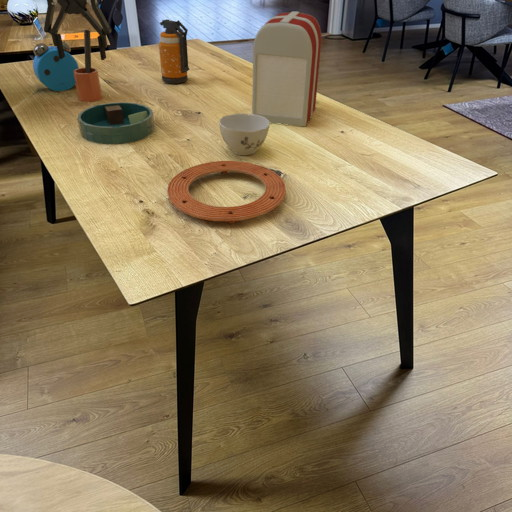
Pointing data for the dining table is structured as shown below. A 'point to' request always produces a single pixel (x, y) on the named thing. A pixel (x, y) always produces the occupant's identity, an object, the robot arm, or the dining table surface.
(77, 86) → the holder
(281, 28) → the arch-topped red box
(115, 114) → the walnut block
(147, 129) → the bowl
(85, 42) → the stick
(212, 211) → the ring
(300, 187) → the dining table surface
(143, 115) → the sage block
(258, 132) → the teacup
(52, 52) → the alarm clock
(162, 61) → the canister
